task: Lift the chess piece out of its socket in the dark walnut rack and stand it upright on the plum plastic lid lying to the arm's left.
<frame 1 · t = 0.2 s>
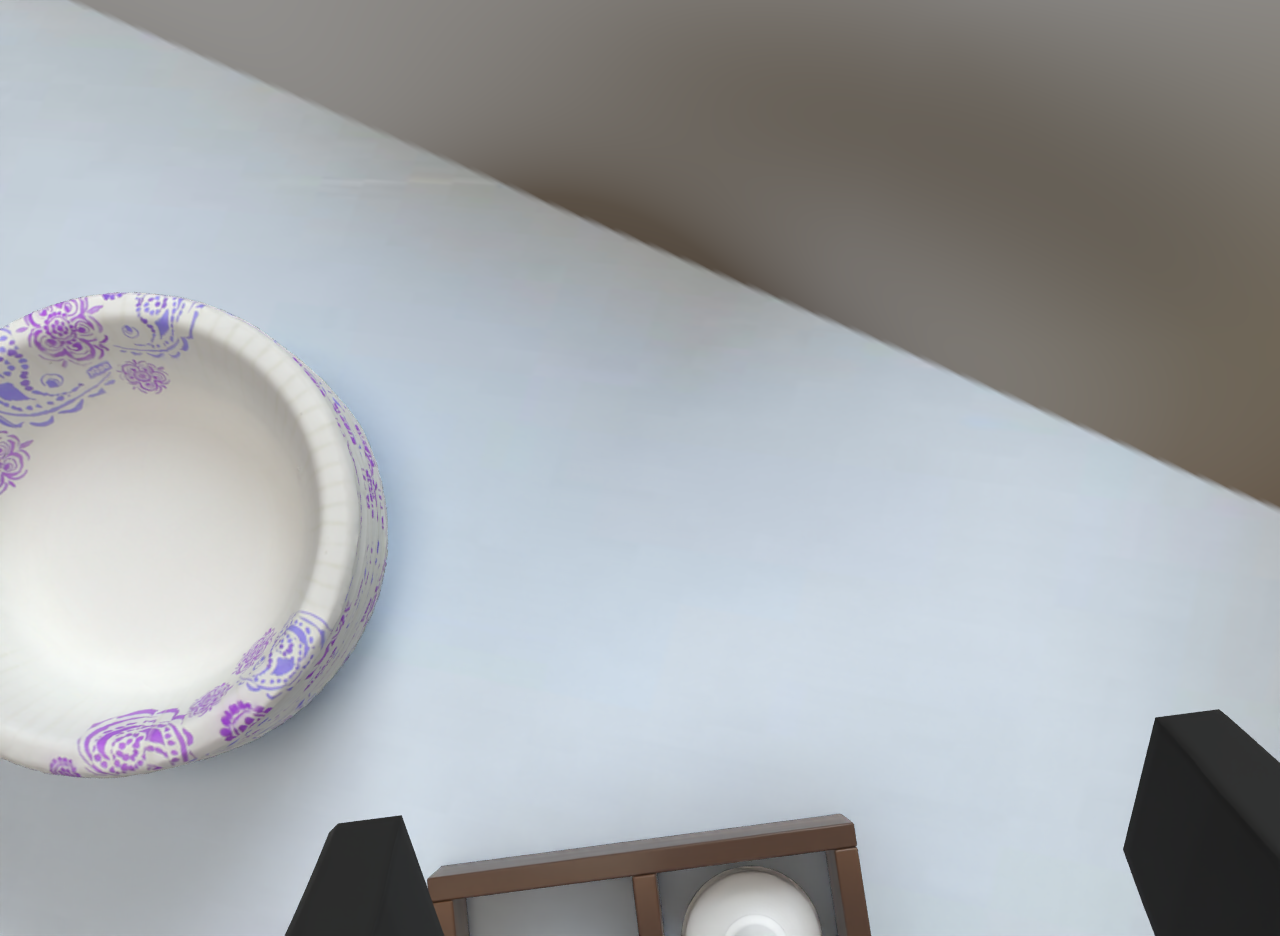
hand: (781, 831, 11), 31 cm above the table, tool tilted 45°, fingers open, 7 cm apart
paper bowls: (209, 551, 43), on the table
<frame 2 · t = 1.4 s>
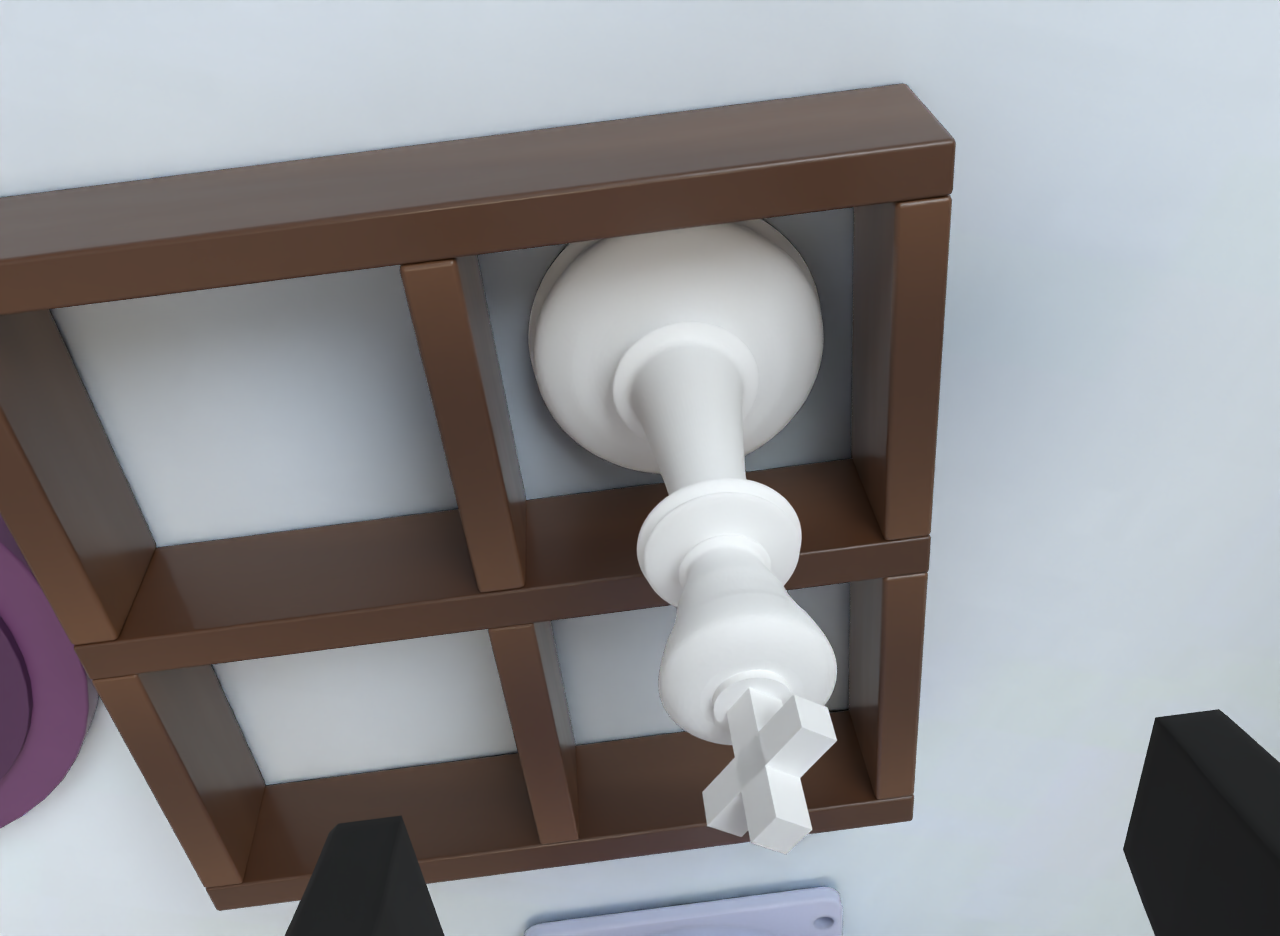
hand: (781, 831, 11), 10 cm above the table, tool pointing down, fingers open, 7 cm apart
chess piece: (674, 330, 19), resting in rack
rack: (508, 518, 21), on the table
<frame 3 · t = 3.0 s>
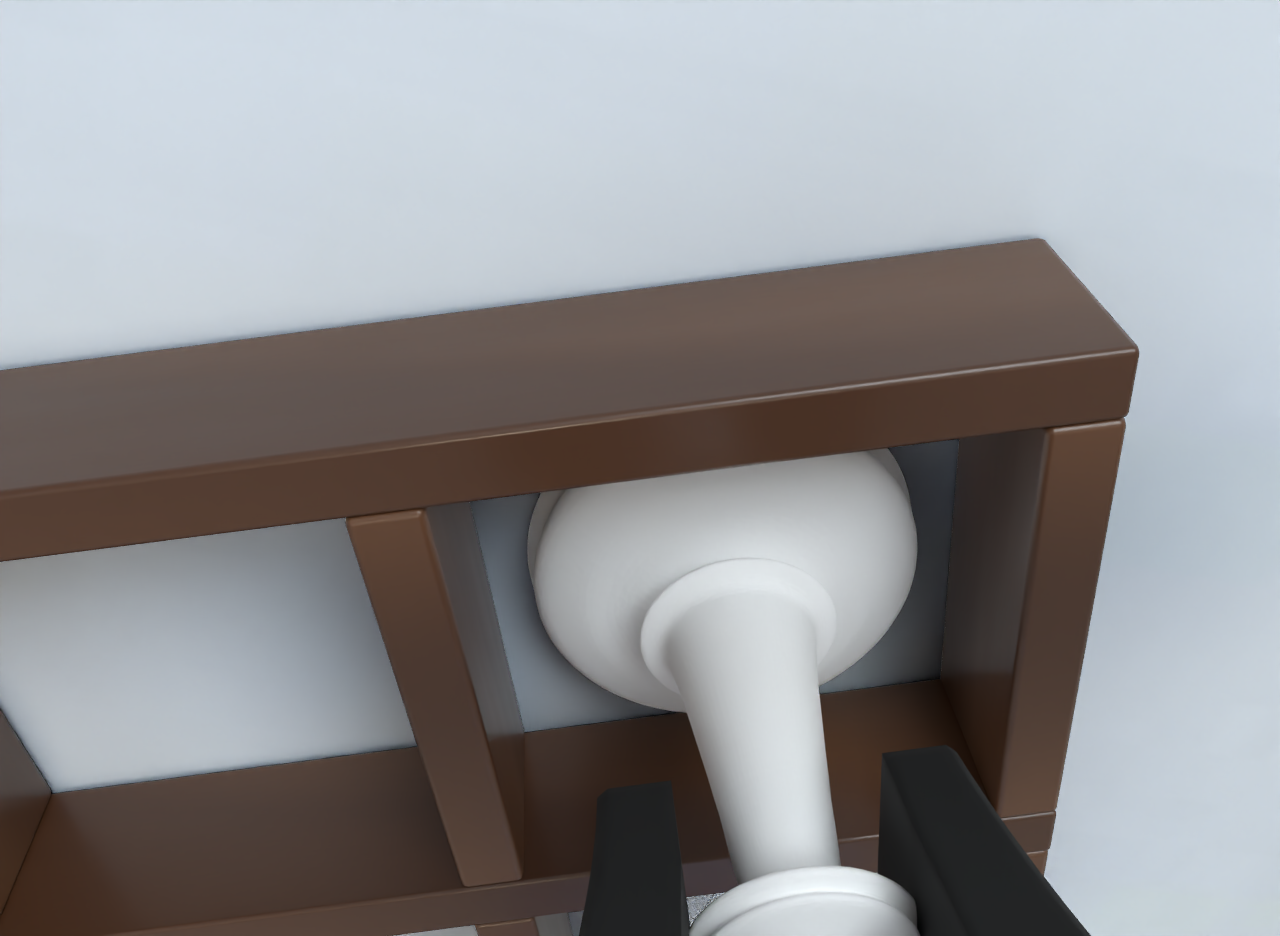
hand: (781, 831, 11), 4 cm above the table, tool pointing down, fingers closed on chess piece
chess piece: (717, 535, 15), resting in rack, touching gripper
rack: (502, 752, 17), on the table
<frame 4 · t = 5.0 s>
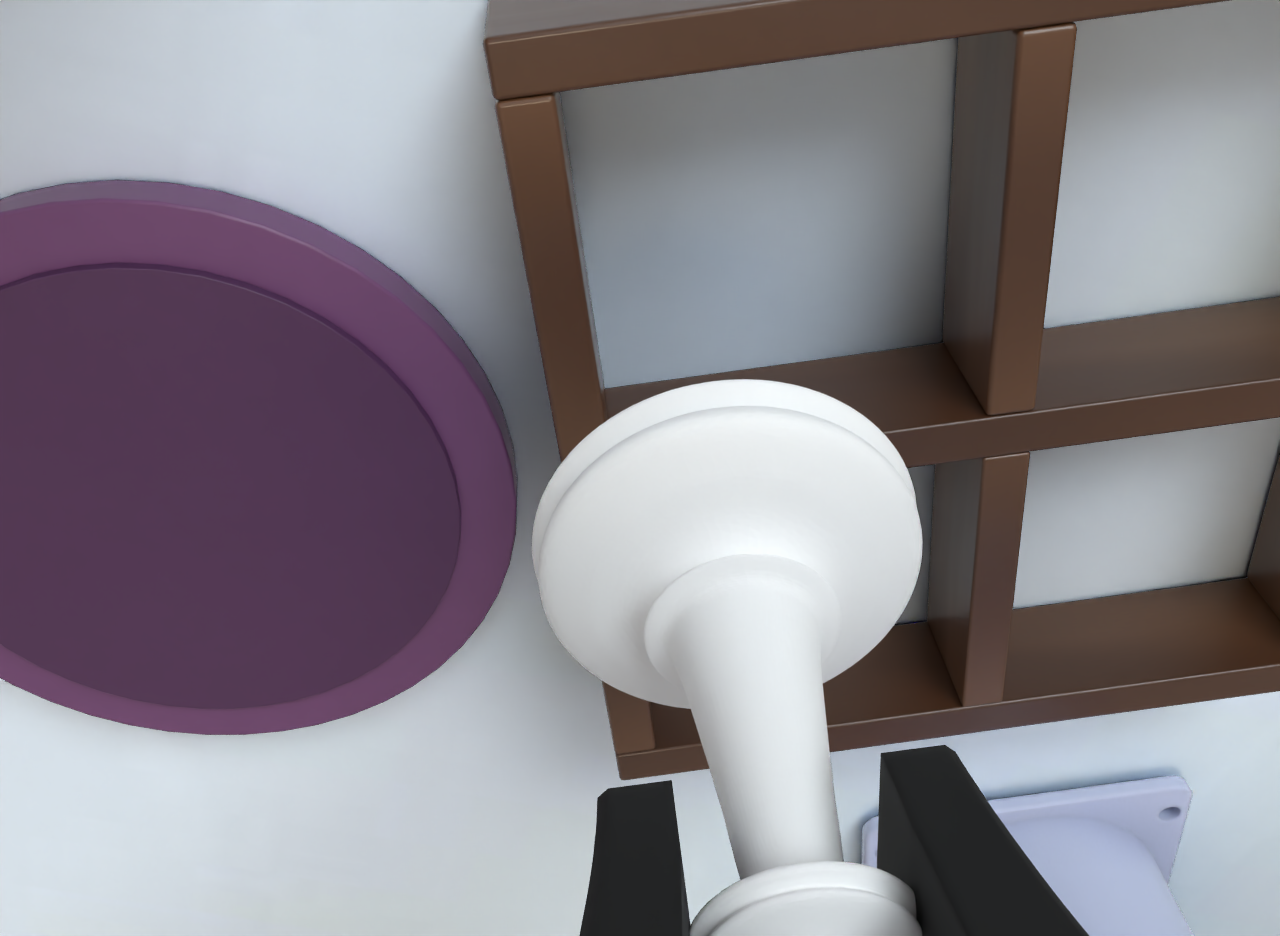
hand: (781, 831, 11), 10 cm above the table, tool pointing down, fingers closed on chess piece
chess piece: (722, 531, 15), point 6 cm above the table, touching gripper
rack: (961, 357, 20), on the table
lid: (196, 485, 21), on the table
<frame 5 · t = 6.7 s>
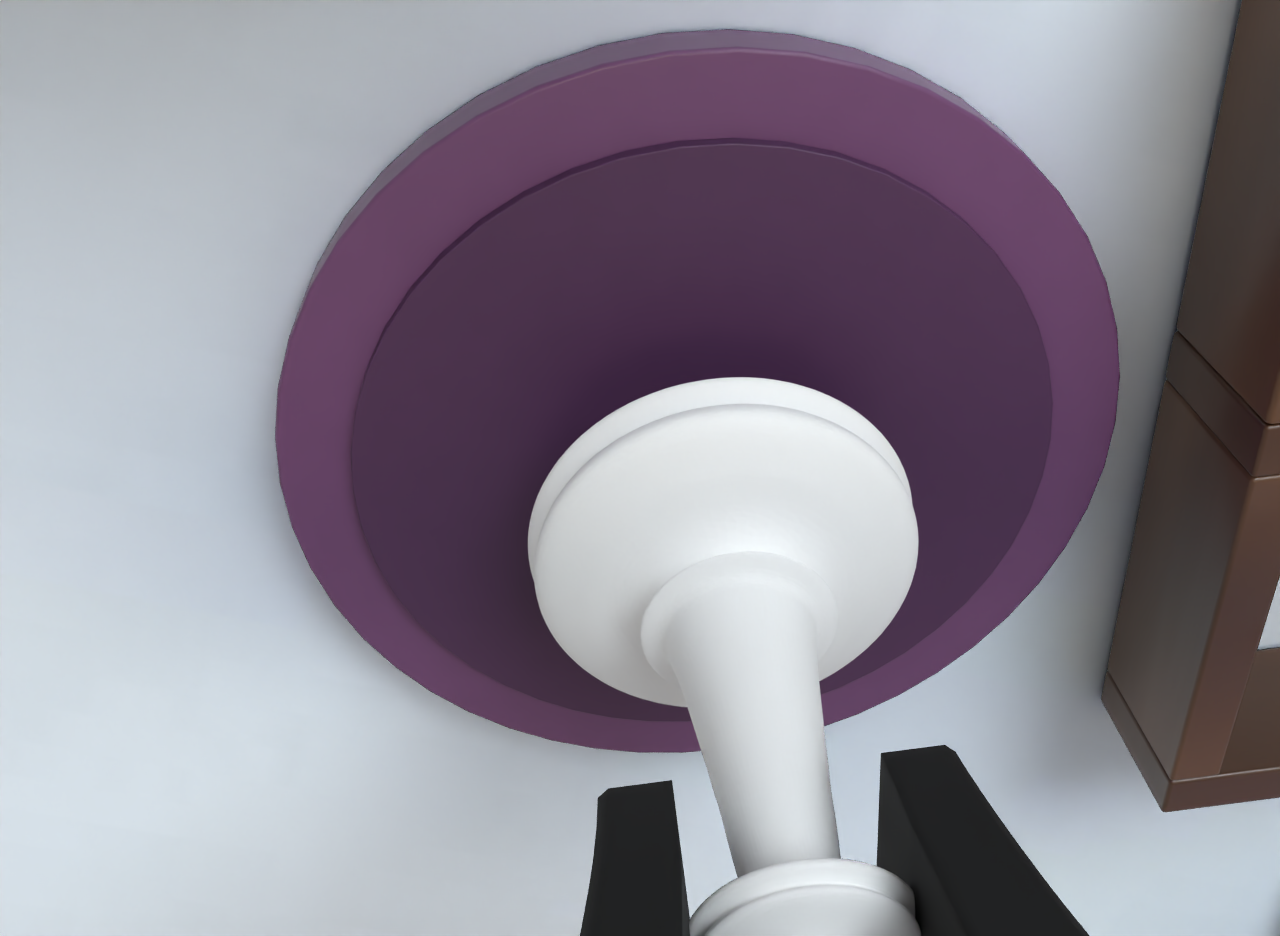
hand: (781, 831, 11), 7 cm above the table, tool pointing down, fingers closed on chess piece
chess piece: (718, 529, 15), point 2 cm above the table, touching gripper
lid: (698, 443, 17), on the table
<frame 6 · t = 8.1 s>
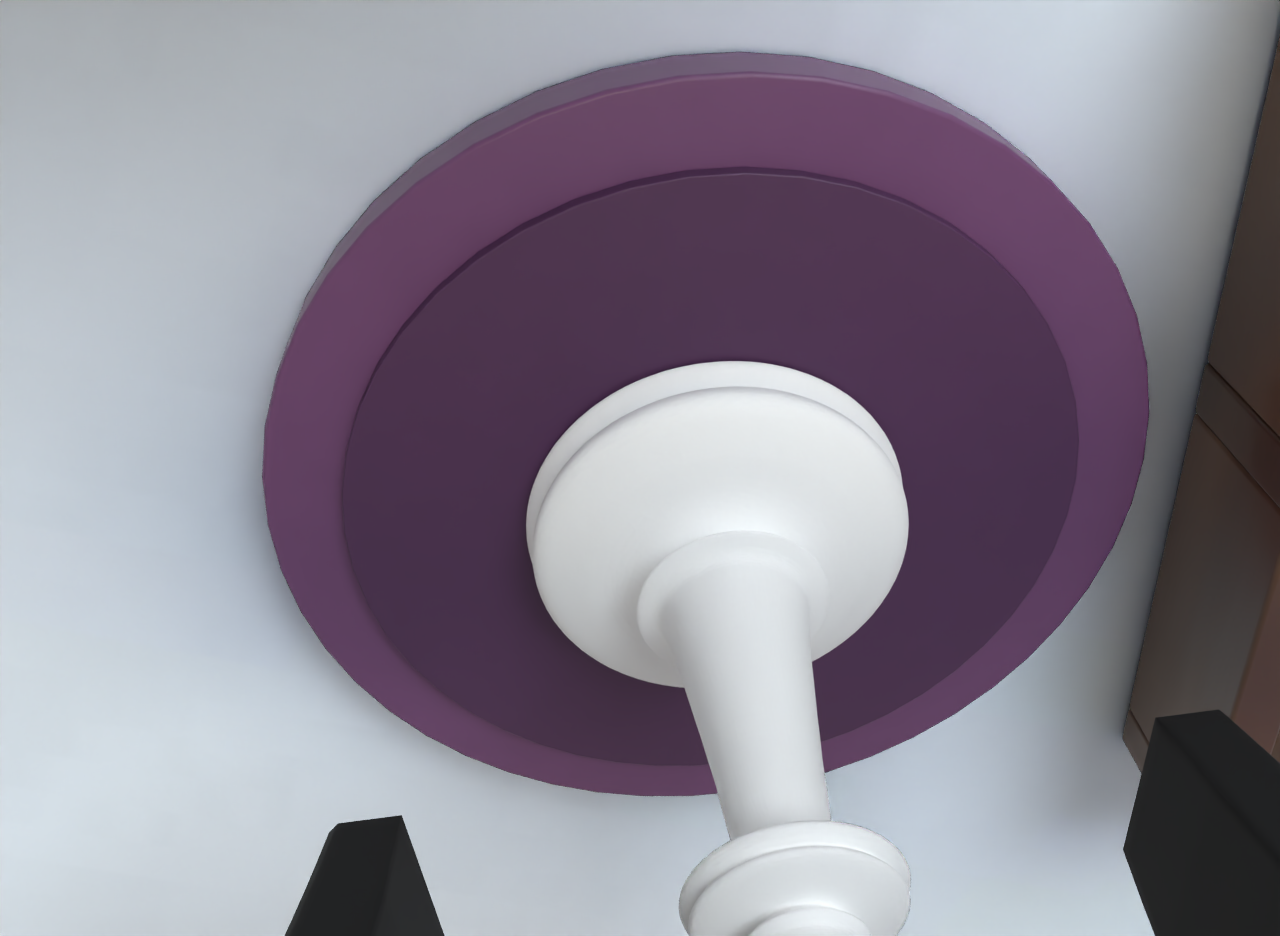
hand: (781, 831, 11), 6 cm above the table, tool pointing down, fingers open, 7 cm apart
chess piece: (713, 512, 15), point 1 cm above the table, touching lid
lid: (705, 480, 16), on the table
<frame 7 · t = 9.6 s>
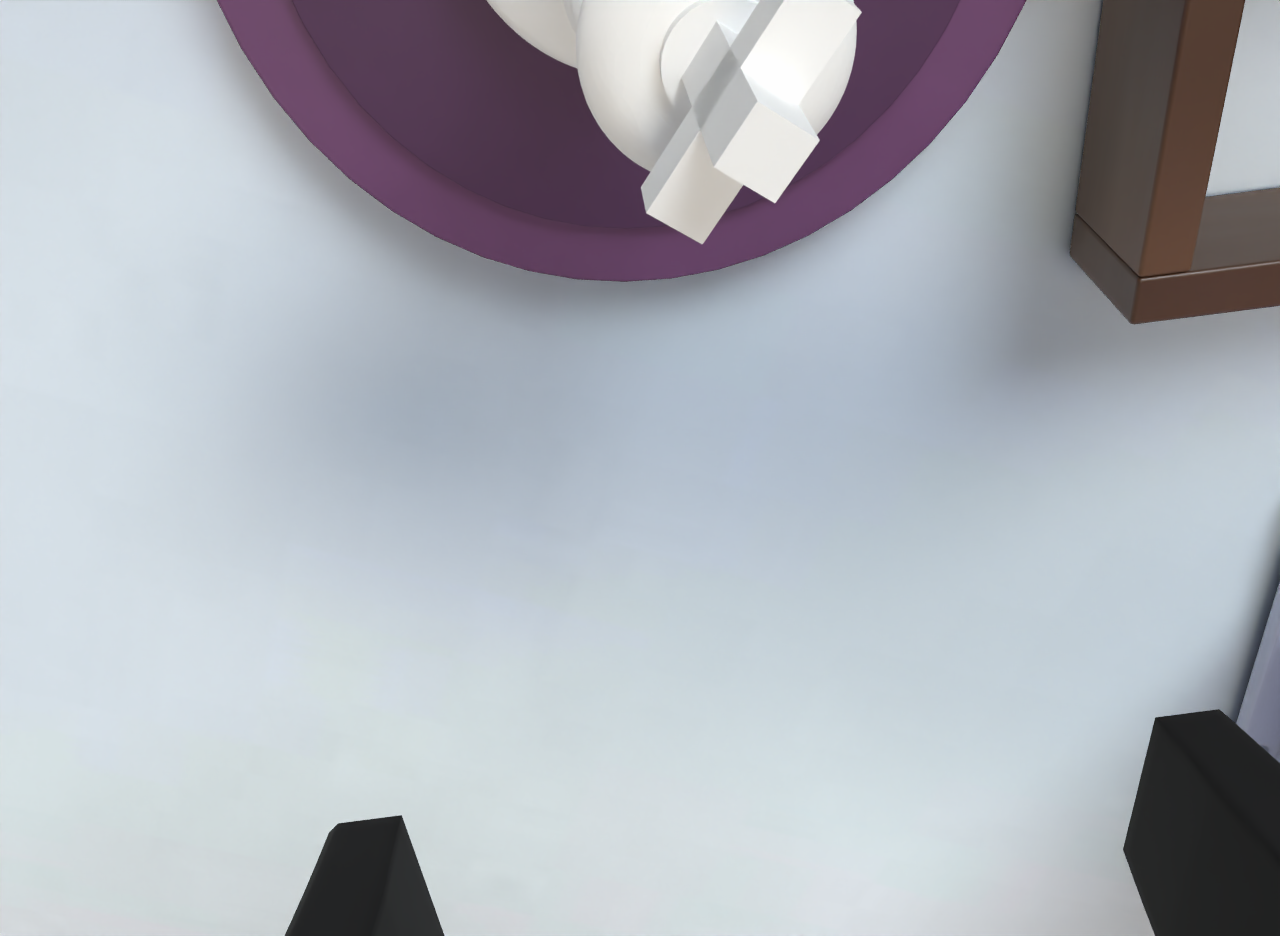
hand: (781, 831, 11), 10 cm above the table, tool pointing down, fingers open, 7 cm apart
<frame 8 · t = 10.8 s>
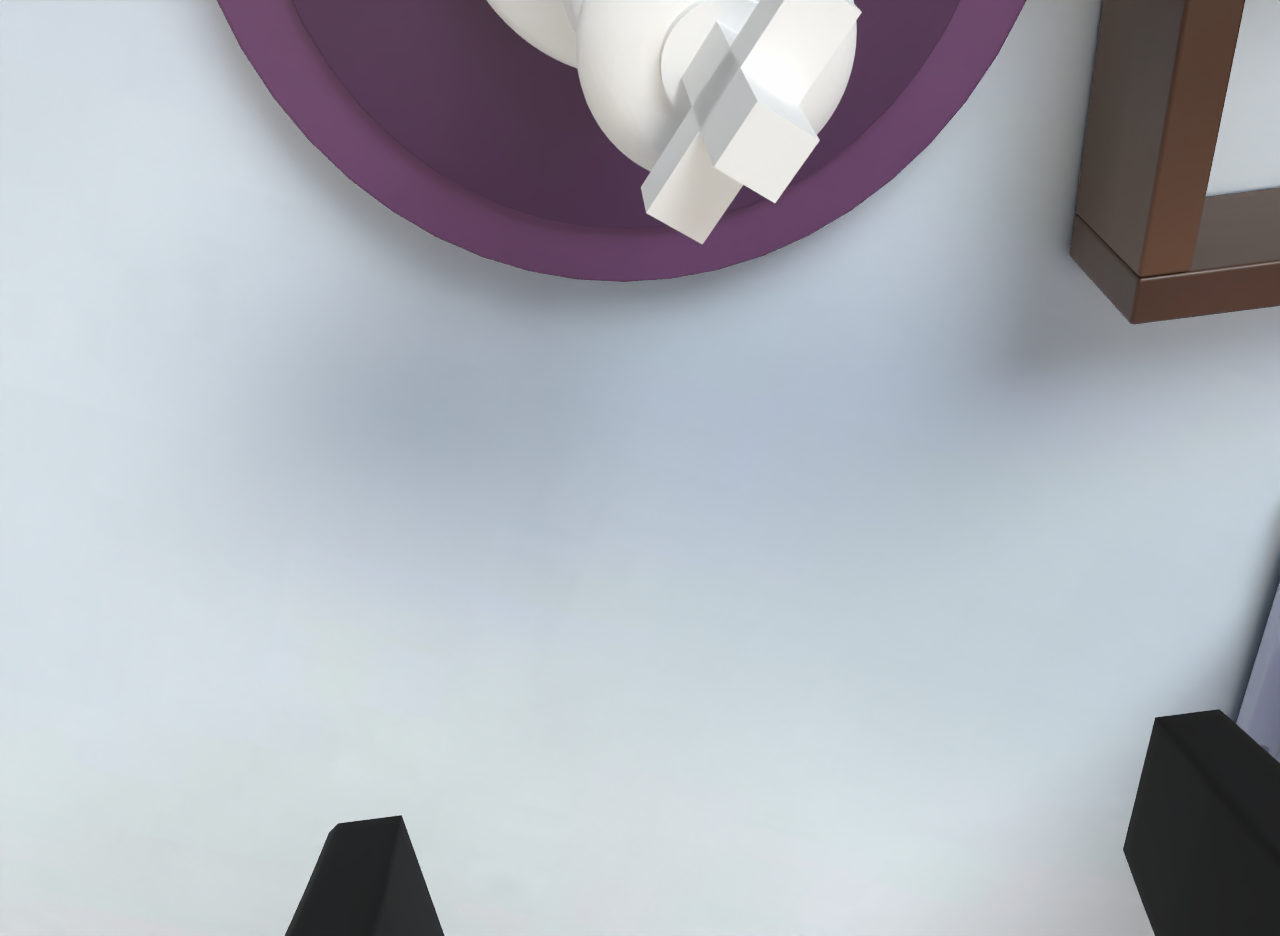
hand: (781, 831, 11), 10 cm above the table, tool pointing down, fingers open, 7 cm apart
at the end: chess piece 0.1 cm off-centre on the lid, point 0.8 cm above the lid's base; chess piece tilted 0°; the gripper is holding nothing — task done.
